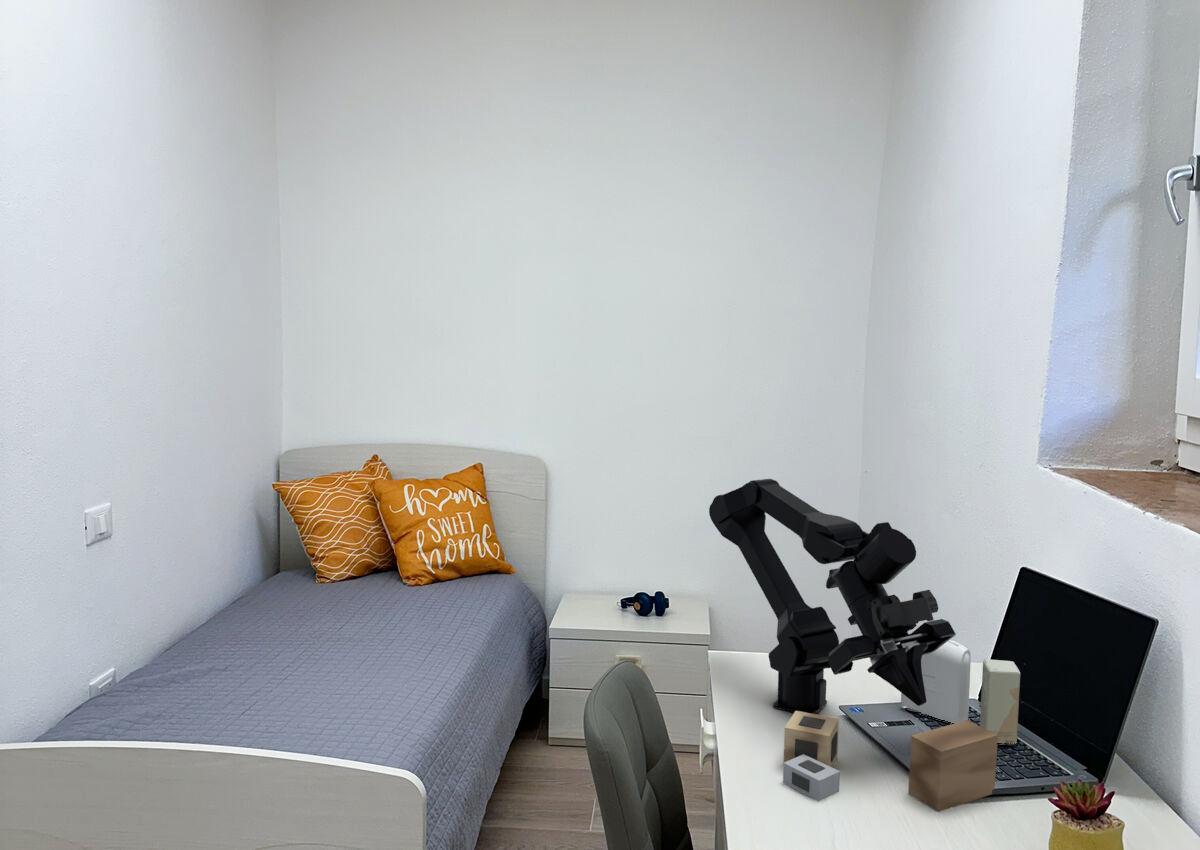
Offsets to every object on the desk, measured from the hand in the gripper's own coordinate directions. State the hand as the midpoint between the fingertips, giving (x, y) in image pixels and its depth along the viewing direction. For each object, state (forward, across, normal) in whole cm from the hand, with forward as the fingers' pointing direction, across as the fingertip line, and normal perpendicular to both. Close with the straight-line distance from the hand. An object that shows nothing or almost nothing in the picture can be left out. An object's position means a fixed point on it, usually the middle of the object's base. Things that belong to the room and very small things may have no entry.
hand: (922, 704), depth 130 cm
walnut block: (+11, 0, +3) cm, 11 cm away
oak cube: (+1, -11, +14) cm, 17 cm away
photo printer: (-2, +16, +16) cm, 23 cm away
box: (+5, +18, +9) cm, 21 cm away
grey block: (+4, -15, +10) cm, 19 cm away
